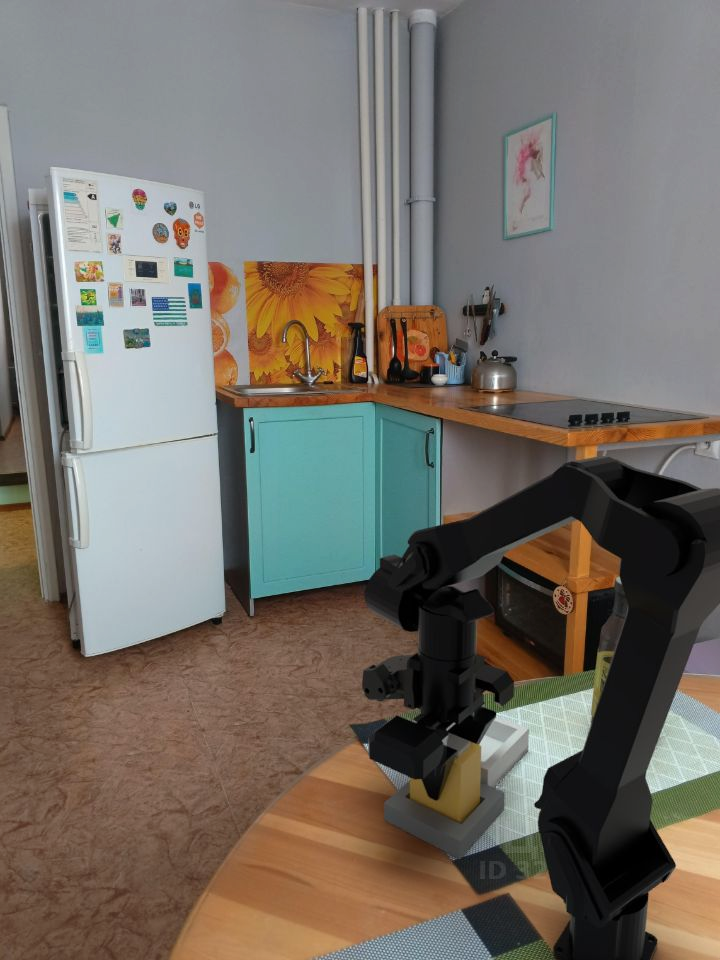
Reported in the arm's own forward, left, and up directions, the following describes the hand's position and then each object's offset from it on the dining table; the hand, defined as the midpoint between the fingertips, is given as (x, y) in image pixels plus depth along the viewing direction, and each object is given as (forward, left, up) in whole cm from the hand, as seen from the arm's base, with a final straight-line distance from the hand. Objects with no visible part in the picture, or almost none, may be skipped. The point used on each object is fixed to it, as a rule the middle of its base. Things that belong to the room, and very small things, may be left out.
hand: (445, 787), depth 74 cm
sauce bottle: (+26, -9, -3) cm, 28 cm away
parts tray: (+10, +3, -3) cm, 11 cm away
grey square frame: (0, 0, -3) cm, 3 cm away
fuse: (0, 0, -3) cm, 3 cm away
